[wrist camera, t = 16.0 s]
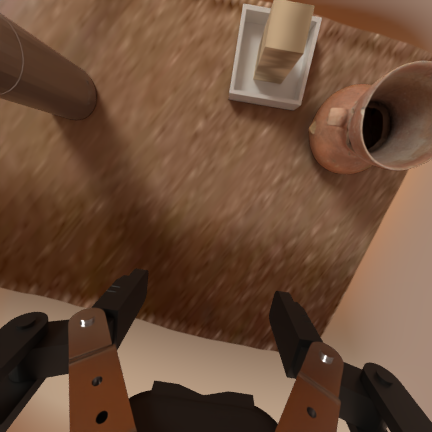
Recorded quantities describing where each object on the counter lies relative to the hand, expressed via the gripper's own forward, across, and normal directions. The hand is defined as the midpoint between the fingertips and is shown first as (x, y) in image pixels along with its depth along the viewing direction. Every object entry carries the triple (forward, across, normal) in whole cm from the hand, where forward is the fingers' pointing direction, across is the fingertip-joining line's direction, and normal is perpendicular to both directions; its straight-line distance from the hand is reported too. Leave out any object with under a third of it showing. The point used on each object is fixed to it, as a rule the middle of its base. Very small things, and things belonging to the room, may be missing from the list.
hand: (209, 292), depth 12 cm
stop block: (+29, -5, -26) cm, 39 cm away
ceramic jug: (+30, -22, -17) cm, 41 cm away
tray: (+30, -5, -26) cm, 40 cm away
